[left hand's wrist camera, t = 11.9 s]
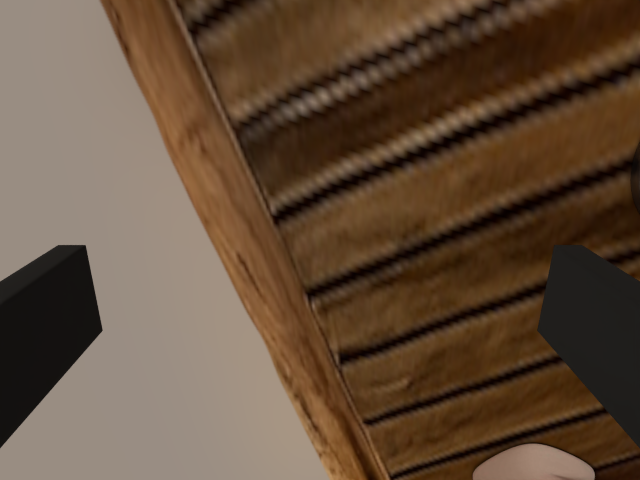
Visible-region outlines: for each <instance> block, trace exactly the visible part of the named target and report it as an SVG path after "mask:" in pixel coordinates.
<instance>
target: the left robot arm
mask: <svg viewBox="0 0 640 480" xmlns="http://www.w3.org/2000/svg"><path fill="white" fill-rule="evenodd" d="M631 191H632V196H633V200H634V203H635V206H636V208H637V210H638V212H639V214H640V142H639V145H638V147H637V150H636V153H635V156H634V160H633V164H632V170H631ZM537 331H538V332H539V333H540V334H541V335H542V336H543V338H544V339H545V340H546V341H547V342H548V343H549V344H550V346H551V347H552V348H553V349H554V350H555V351H556V352H557V354H558V355H559V356H560V357H561V358H562V359H563V361H564V362H565V363H566V364H567V365H568V366H569V367H570V369H571V370H572V371H573V372H574V373H575V374H576V375H577V377H578V378H579V379H580V380H581V381H582V382H583V384H584V385H585V386H586V387H587V388H588V389H589V390H590V392H591V393H592V394H593V395H594V396H595V397H596V398H597V400H598V401H599V402H600V403H601V404H602V405H603V406H604V408H605V409H606V410H607V411H608V412H609V413H610V415H611V416H612V417H613V418H614V419H615V420H616V421H617V423H618V424H619V425H620V426H621V427H622V428H623V429H624V431H625V432H626V433H627V434H628V435H629V436H630V437H631V439H632V440H633V441H634V442H635V443H636V444H637V446H638V447H639V448H640V281H638V280H636V279H635V278H633V277H632V276H630V275H628V274H627V273H625V272H624V271H622V270H620V269H619V268H617V267H616V266H614V265H613V264H611V263H609V262H608V261H606V260H605V259H603V258H601V257H600V256H598V255H597V254H595V253H593V252H592V251H590V250H589V249H587V248H585V247H584V246H582V245H554V250H553V255H552V260H551V265H550V270H549V275H548V280H547V285H546V290H545V295H544V300H543V305H542V310H541V315H540V320H539V325H538V330H537ZM101 332H102V325H101V320H100V315H99V310H98V305H97V300H96V295H95V290H94V285H93V280H92V275H91V270H90V265H89V260H88V255H87V250H86V246H85V245H58V246H56V247H55V248H53V249H51V250H50V251H48V252H47V253H45V254H43V255H42V256H40V257H39V258H37V259H35V260H34V261H32V262H31V263H29V264H28V265H26V266H24V267H23V268H21V269H20V270H18V271H16V272H15V273H13V274H12V275H10V276H8V277H7V278H5V279H4V280H2V281H0V448H1V447H2V446H3V444H4V443H5V442H6V441H7V440H8V439H9V437H10V436H11V435H12V434H13V433H14V432H15V431H16V429H17V428H18V427H19V426H20V425H21V424H22V423H23V421H24V420H25V419H26V418H27V417H28V416H29V415H30V413H31V412H32V411H33V410H34V409H35V408H36V406H37V405H38V404H39V403H40V402H41V401H42V400H43V398H44V397H45V396H46V395H47V394H48V393H49V391H50V390H51V389H52V388H53V387H54V386H55V385H56V383H57V382H58V381H59V380H60V379H61V378H62V377H63V375H64V374H65V373H66V372H67V371H68V370H69V369H70V367H71V366H72V365H73V364H74V363H75V362H76V360H77V359H78V358H79V357H80V356H81V355H82V354H83V352H84V351H85V350H86V349H87V348H88V347H89V346H90V344H91V343H92V342H93V341H94V340H95V339H96V338H97V336H98V335H99V334H100V333H101Z"/></svg>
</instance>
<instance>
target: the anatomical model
mask: <svg viewBox="0 0 640 480" xmlns="http://www.w3.org/2000/svg"><path fill="white" fill-rule="evenodd" d="M594 478H595V473H594V471H593V469H592V468H591V467H590V466H589V465H588V464H587V463H585V462H584V461H582V460H580V459H578V458H576V457H575V456H573V455H570V454H568V453H566V452H563V451H561V450H559V449H556V448H553V447H550V446H546V445H542V444H523V445H519V446H516V447H513V448H510V449H508V450H505V451H503V452H501V453H499V454H497V455H495V456H493V457H492V458H490V459H488V460H487V461H485V462H484V463H482V464H481V465H479V466H478V467H477V468H476V469H475V471H474V473H473V480H594Z"/></svg>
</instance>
